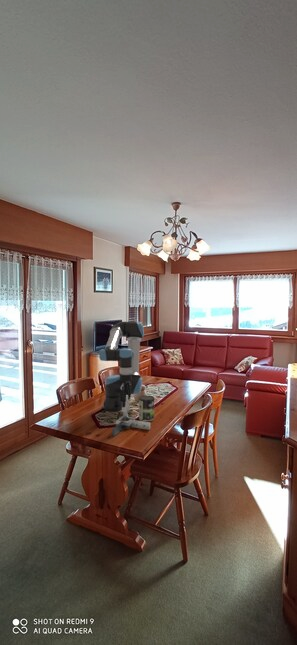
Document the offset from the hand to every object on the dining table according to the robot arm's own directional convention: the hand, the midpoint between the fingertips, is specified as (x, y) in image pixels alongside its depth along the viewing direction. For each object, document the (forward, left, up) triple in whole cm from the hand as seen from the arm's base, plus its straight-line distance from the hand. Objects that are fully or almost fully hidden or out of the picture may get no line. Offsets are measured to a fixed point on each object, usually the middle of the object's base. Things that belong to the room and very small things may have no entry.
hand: (125, 410), depth 192 cm
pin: (0, 0, -6) cm, 6 cm away
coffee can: (+8, +16, -10) cm, 20 cm away
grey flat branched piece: (+6, -6, -9) cm, 13 cm away
